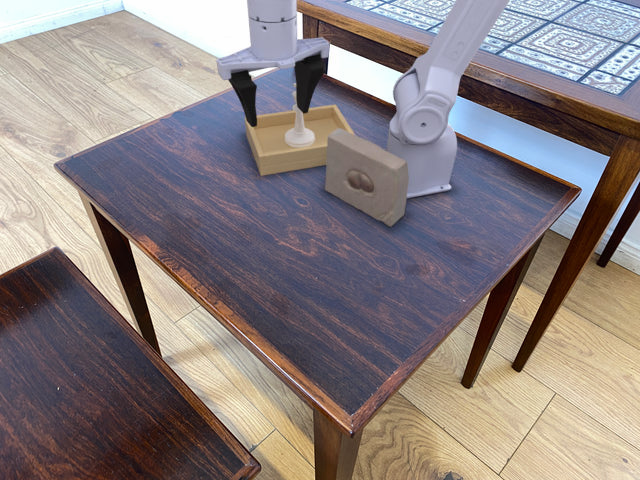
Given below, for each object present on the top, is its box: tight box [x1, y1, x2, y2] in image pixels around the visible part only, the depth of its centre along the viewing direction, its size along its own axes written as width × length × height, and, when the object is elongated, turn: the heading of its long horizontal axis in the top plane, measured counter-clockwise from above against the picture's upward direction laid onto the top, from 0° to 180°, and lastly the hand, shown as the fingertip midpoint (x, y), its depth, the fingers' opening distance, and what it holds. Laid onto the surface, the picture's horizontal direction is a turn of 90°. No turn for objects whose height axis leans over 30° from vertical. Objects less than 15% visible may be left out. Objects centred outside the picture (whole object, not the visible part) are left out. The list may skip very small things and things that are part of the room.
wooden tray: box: [244, 104, 356, 177], centre depth 80 cm, size 16×12×4 cm
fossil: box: [324, 128, 409, 228], centre depth 68 cm, size 12×4×10 cm, turn 49°
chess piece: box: [284, 82, 315, 148], centre depth 77 cm, size 5×5×10 cm
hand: (277, 116), depth 68 cm, fingers open, 7 cm apart
